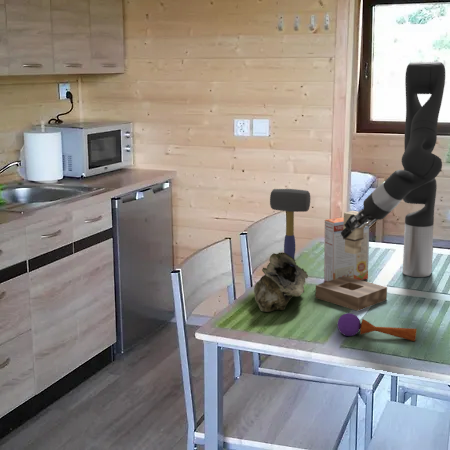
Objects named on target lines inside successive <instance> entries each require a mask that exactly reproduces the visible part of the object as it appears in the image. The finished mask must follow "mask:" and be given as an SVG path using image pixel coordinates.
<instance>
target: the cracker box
mask: <svg viewBox="0 0 450 450" xmlns="http://www.w3.org/2000/svg"><path fill="white" fill-rule="evenodd" d="M343 226H344V216H343V217H336V218H327V219H325V220H324V255H323V257H324V259H323V260H324V263H323V265H324V266H323V268H324V269H323V272H324V273H323V276H324V277H323V278H324V279H323V281H324V282H328V281H331V280H334V279H337V278H340V277H343V276H347V277H350V278H354V279H358V280H362V281H364V280H365V281H366V280H368V279H369V255H370V254H369V251H370V250H369V248H370V226H369V227H368V226H367V227H366V228H365V229H364V233H363V237H364V239H362V240H361V252H360V253H356V254H351V253H346V252H345V239H343V236H342V235H341V232H342V231H343Z"/></svg>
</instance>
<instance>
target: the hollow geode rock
mask: <svg viewBox="0 0 450 450" xmlns="http://www.w3.org/2000/svg"><path fill="white" fill-rule="evenodd" d="M291 265H292V266H291ZM261 271H262V272H263V274H264V275H262V276H261V277H260V279H259V280H258V281H256V282H255V284H254V288H253V293H254V301H255V302H256V304H257V305H258V308H259V310H260V311H261V312H265V313H266V312H267V313H269V312H274V311H277V310H280V311H285V309H286V307H287V305H288V303H289V302H290V300H291V299H292V298H293V297H300V296H301V295H302V294H303V293H304V292H305V287H304V286H305V284H306V279H308V278H309V275H308V273H307V271H305V269H304V268H301V267H300V266H299V265H298V264H297V262H296V259H295V257H294V258H292V257H291V256H289V255H288V254H286V253H284V252H278V253H276V252H275V253H272V254H270V256H269V263H268V264H267V265H266V267H263V268H262V269H261Z"/></svg>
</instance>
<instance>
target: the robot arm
mask: <svg viewBox="0 0 450 450" xmlns="http://www.w3.org/2000/svg"><path fill="white" fill-rule="evenodd" d="M404 78H405V83H404V84H405V85H404V87H405V110H406V111H405V125H404V140H403V141H404V152H403V154H402V157H401V165H402V167H403V169H397V170H395V171H393V172H392V174H390V175H389V176H388V177H387V178H386V180H384V181H383V182H382V183H381V184H379V185H378V186H377V187H376V188H375V189H374V190H373V191H372V192H371V193H370V194H369V195H368V196H367V197H366V198H365V199H364V201H363V208H362V209H360V210H359V211H357V212H358V214H357V215H356V216H354V214H353V215H351V216H350V217H349V219H348V220H347V222H346V223H345V224H344V226H345V227H346V228H345V229H344V230H343V231H342V232H341V235H342V236H343V238H347V237H348V236H349V235H350V234H351V233H352V232H353V231H354V230H356V229H357V228H361V227H362V226H363V225H364V229H365V228H366V227H367V226H368V227H369V228H370V227H371V226H372V225H373V224H375V223H376V222H377V221H379V220H383V219H385V217H387V216H388V215H389V214H390V213H392V211H393V210H394V209H395V208H396V207H397V206H399V205H400V203H401V202H402V201H403V202H404V203H405V204H411V205H412V204H414V205H424V207H422V208H421V209H419V210H416V211H413V212H410V213H407V214H406V215H405V218H404V235H403V236H404V237H403V255H402V258H403V260H402V274H403V275H405V276H408V277H413V278H425V277H429V276H431V273H432V271H433V257H434V255H433V254H434V245H433V242H434V239H433V237H434V224H435V223H434V221H435V219H434V218H435V207H436V206H435V205H436V195H437V187H438V185H437V180H436V177H437V176H439V174H440V172H441V171H442V168H443V161H442V159H441V158H440V157H439V156H438V155H436V154H435V153H433V152H434V151H433V150H434V149H435V147H436V144H437V140H438V139H437V138H438V137H437V136H438V121H439V115H440V111H441V106H442V103H443V97H444V96H443V95H444V91H445V85H446V68H445V64H444V63H443V62H440V61H413V62H409V63H408V65H407V66H406V70H405V77H404ZM418 95H430V97H429V98H428V99H427V101H426V102H425V103H424V104H423V105H422V103H420V98H419V97H418ZM358 222H359V223H360V225H359V223H358Z"/></svg>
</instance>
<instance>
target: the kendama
mask: <svg viewBox="0 0 450 450" xmlns="http://www.w3.org/2000/svg"><path fill="white" fill-rule="evenodd" d="M336 325H337V329H338V330H339V331H340V333H341V334H343V335H344V336H346V337H347V336H348V337H352V336H355V335H357V334H359V333H360V335H364V334H368V333H372V332H377V333H382V334H386V335H390V336H392V337H396V338H400V339H404V340H408V341H412V342H416V339H417V328H412V327H411V328H410V327H407V328H405V327H389V326H375V325H374V324H372V323H370V322H369V321H367V320H365V319H364V318H362V320H360V318H359V316H357V315H356V314H354V313H350V312H346V313H344V314H342V315H340V317H339V319H338V320H337V323H336Z"/></svg>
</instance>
